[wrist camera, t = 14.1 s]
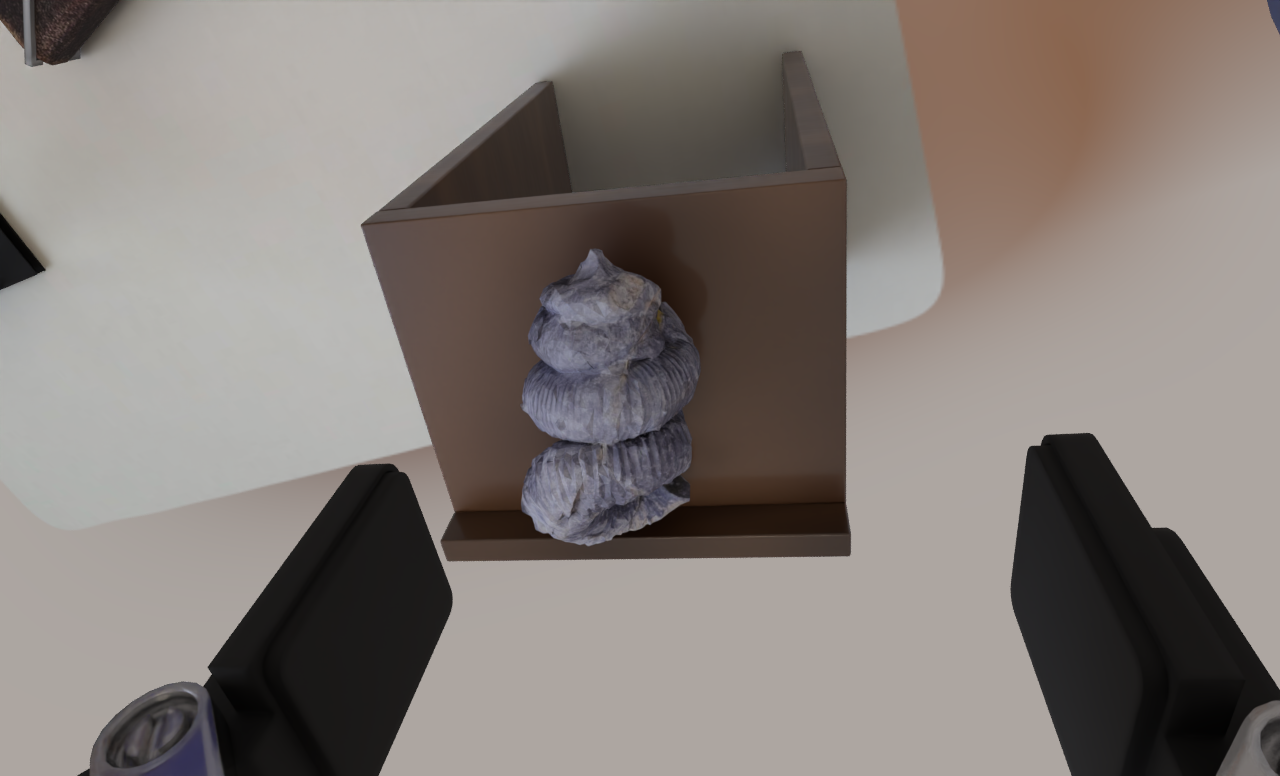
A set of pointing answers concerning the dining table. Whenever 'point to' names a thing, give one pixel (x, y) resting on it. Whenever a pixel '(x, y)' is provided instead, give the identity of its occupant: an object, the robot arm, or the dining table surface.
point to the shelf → (690, 284)
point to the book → (53, 26)
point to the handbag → (15, 257)
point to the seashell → (607, 405)
